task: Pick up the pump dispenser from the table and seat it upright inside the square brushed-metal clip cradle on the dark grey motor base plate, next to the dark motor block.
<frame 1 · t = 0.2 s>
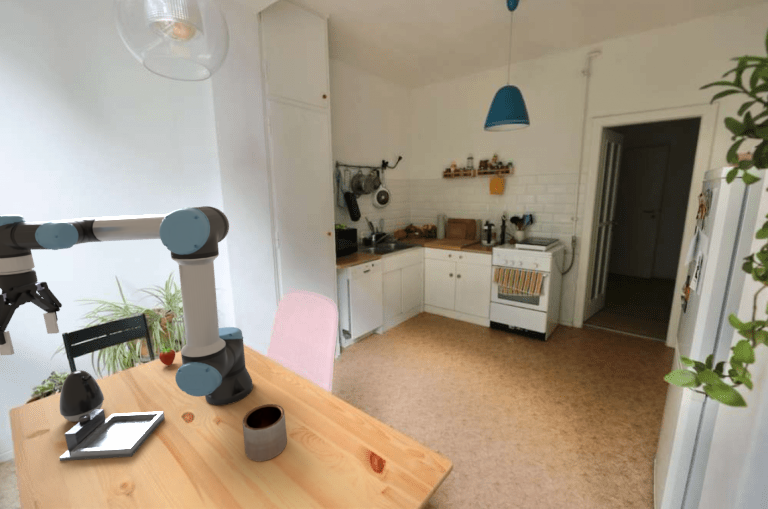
hand: (32, 343, 95), 27 cm above the table, fingers open, 13 cm apart
planter: (266, 447, 91), on the table
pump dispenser: (85, 416, 104), on the table
fruit: (168, 365, 134), on the table
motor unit: (116, 437, 95), on the table
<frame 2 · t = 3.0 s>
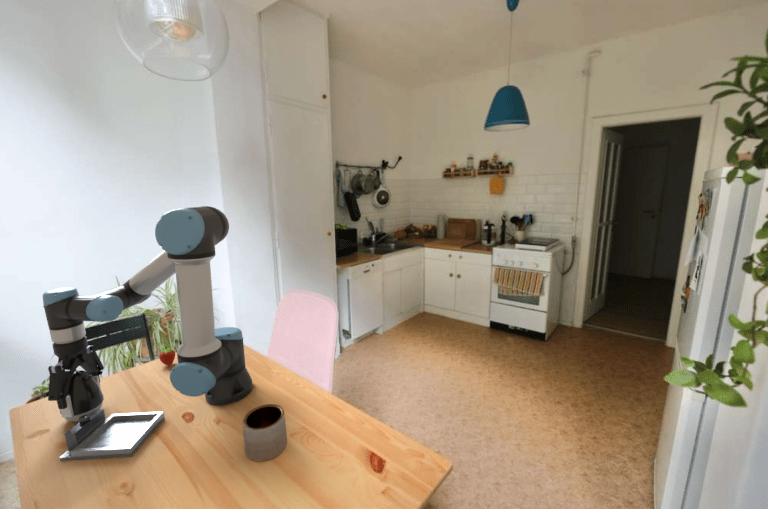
hand: (83, 404, 104), 4 cm above the table, fingers closed on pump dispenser, 10 cm apart
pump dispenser: (85, 416, 104), on the table, touching gripper
everything else where it was.
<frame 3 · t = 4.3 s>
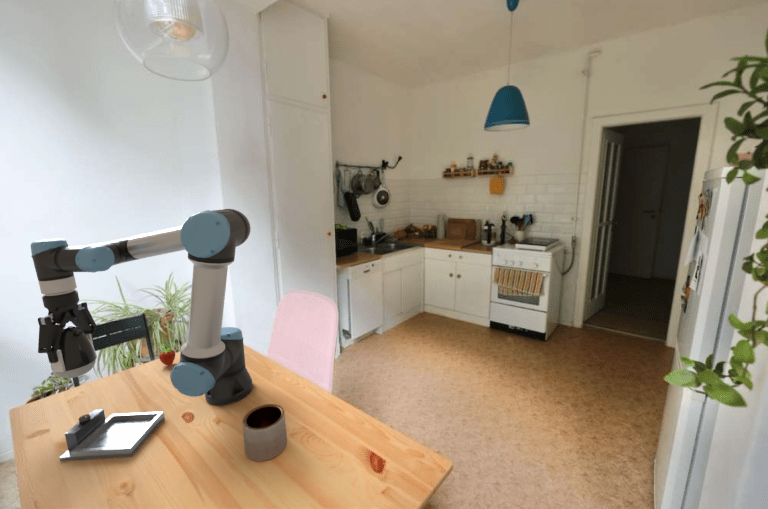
hand: (75, 361, 101), 18 cm above the table, fingers closed on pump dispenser, 10 cm apart
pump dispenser: (77, 374, 101), point 14 cm above the table, touching gripper
everything else where it was.
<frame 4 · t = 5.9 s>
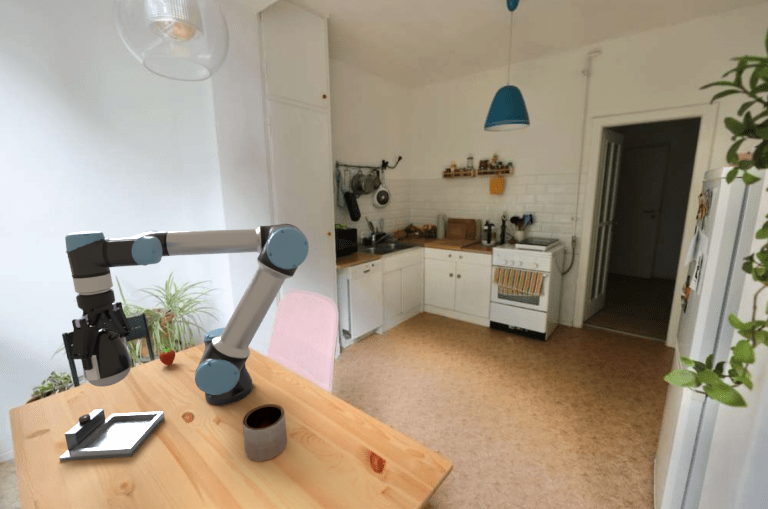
hand: (109, 368, 91), 22 cm above the table, fingers closed on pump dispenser, 10 cm apart
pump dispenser: (111, 381, 91), point 18 cm above the table, touching gripper
everything else where it was.
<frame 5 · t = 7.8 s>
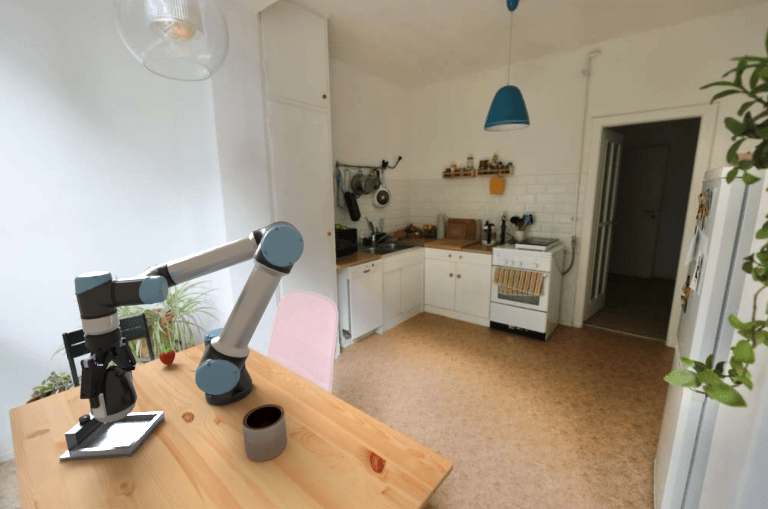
hand: (115, 403, 93), 11 cm above the table, fingers closed on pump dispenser, 10 cm apart
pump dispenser: (117, 416, 93), point 7 cm above the table, touching gripper
everything else where it was.
when the fingers open (6 cm above the table, at t = 9.3 s): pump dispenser drops 1 cm, resting on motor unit.
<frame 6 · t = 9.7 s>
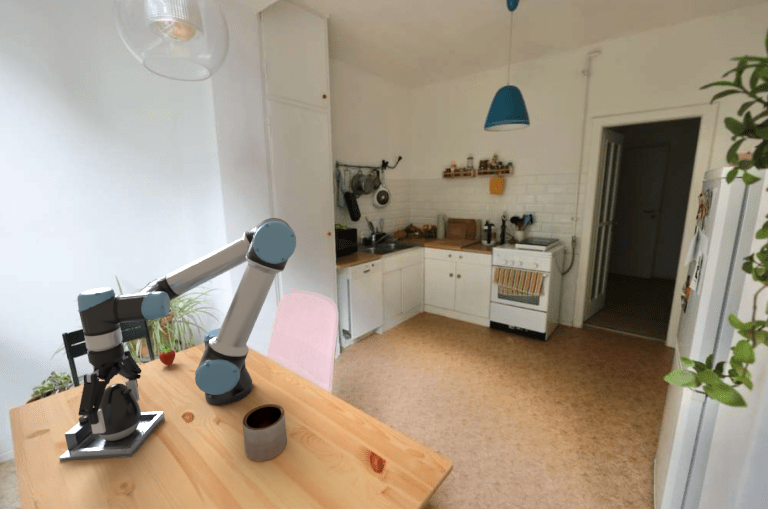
hand: (118, 415, 93), 7 cm above the table, fingers open, 13 cm apart
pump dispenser: (121, 434, 95), point 1 cm above the table, touching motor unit
everything else where it was.
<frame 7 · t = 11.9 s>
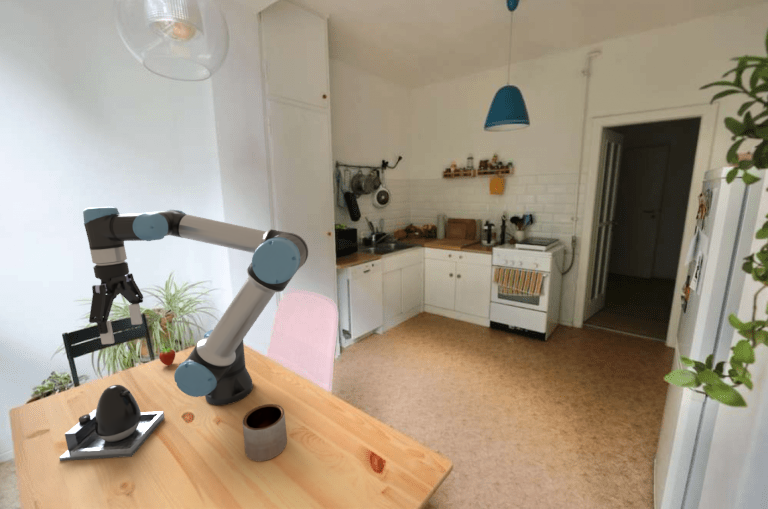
hand: (123, 333, 97), 28 cm above the table, fingers open, 13 cm apart
nothing on the table moved.
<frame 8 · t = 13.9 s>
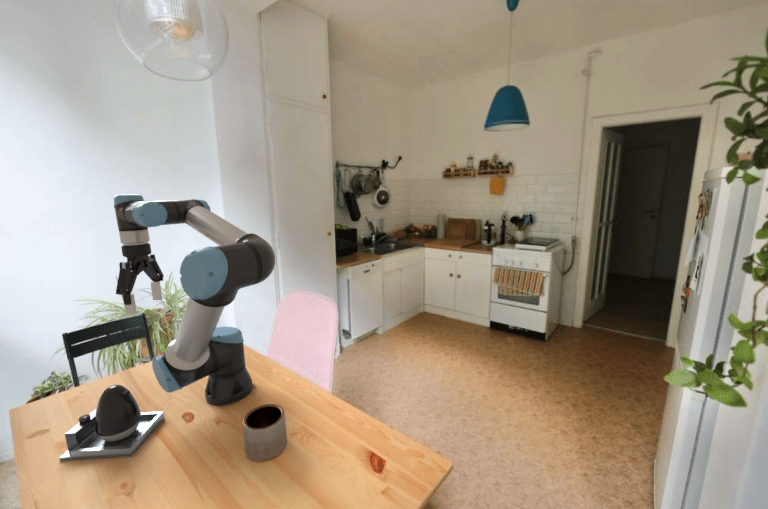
hand: (145, 306, 110), 32 cm above the table, fingers open, 13 cm apart
nothing on the table moved.
at the end: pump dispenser 0.0 cm from the target spot on the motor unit, point 0.8 cm above the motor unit's base; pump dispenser tilted 0°; the gripper is holding nothing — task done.
